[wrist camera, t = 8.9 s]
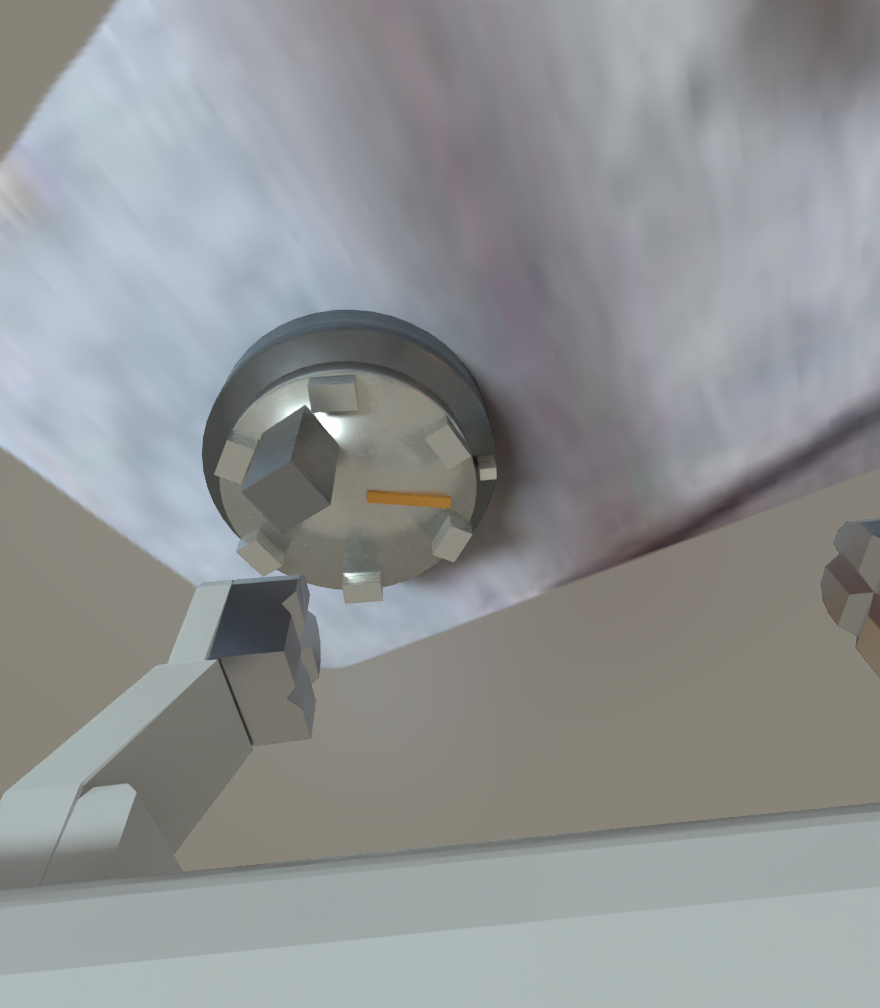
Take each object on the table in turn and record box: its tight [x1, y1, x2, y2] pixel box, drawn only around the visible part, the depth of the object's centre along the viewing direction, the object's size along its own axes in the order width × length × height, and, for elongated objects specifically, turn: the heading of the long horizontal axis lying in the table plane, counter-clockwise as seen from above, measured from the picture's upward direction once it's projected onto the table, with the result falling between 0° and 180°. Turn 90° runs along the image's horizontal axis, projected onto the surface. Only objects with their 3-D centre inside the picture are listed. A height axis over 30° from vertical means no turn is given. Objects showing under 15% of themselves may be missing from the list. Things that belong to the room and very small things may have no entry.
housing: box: [202, 310, 497, 539], centre depth 41 cm, size 18×18×6 cm
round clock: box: [214, 361, 477, 604], centre depth 36 cm, size 15×15×8 cm
